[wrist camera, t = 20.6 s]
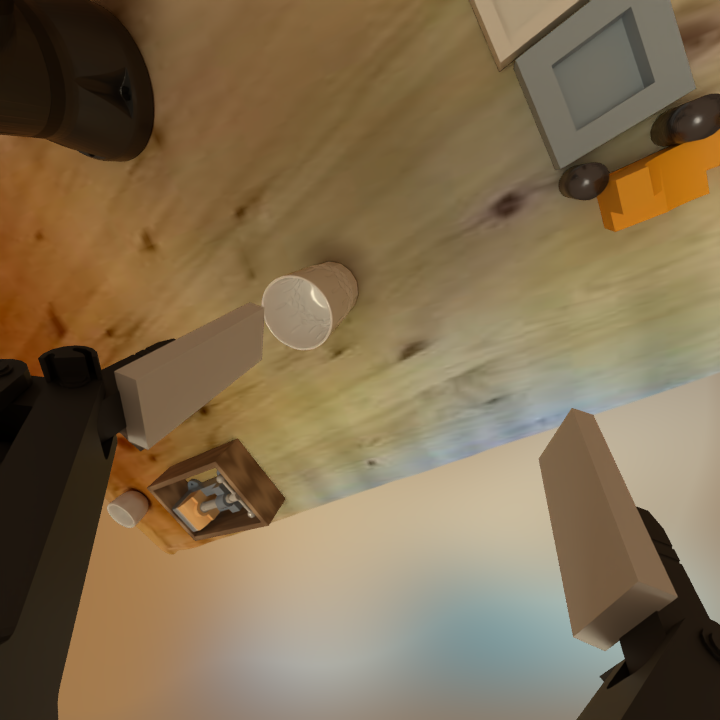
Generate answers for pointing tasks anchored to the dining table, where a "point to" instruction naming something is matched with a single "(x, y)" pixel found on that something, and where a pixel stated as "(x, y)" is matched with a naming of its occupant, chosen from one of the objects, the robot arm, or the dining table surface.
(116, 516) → the teacup
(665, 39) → the jig block
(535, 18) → the tray
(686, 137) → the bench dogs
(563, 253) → the dining table surface
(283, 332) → the white cup
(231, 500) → the vise
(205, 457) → the tool caddy
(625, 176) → the pipe clamp
